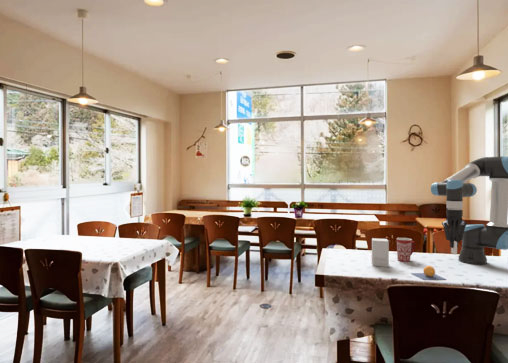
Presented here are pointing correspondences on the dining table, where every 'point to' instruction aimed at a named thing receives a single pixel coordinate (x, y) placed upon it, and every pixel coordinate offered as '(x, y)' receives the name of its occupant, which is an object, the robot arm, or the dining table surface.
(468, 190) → the robot arm
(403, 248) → the mug
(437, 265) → the dining table surface
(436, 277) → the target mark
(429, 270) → the ball
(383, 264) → the supplement box
